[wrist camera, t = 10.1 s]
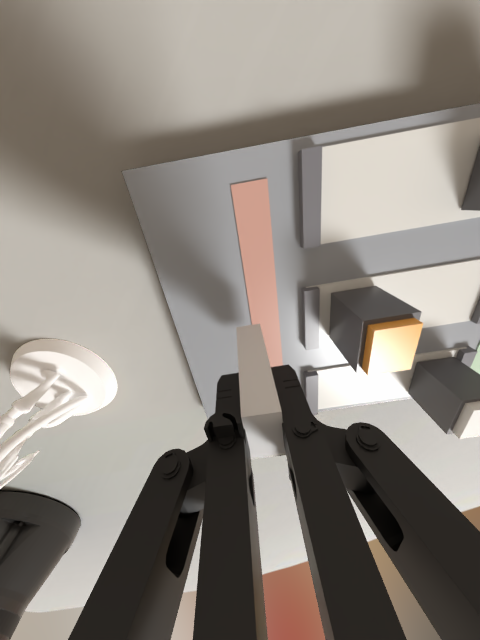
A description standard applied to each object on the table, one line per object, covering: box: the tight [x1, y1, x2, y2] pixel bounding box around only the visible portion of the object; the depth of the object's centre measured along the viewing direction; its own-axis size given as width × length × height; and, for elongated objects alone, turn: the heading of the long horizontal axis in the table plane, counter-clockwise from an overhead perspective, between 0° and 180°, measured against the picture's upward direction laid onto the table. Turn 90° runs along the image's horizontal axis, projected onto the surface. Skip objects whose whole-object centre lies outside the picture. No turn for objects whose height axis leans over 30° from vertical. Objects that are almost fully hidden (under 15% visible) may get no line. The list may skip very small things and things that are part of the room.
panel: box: [122, 103, 480, 419], centre depth 16 cm, size 26×21×2 cm
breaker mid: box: [329, 286, 423, 376], centre depth 14 cm, size 3×4×5 cm
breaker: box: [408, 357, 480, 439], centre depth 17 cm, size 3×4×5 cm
